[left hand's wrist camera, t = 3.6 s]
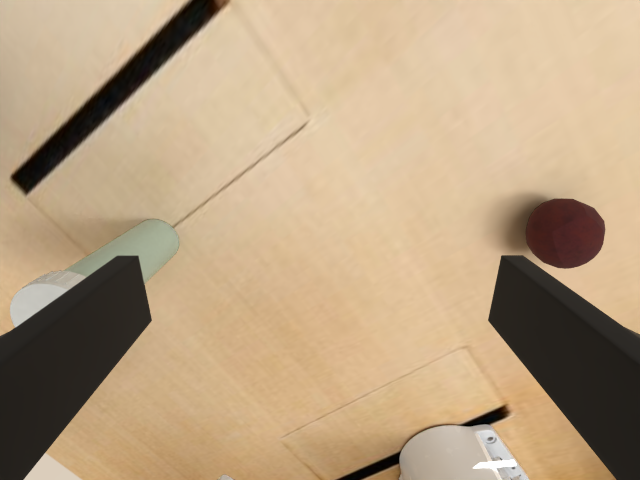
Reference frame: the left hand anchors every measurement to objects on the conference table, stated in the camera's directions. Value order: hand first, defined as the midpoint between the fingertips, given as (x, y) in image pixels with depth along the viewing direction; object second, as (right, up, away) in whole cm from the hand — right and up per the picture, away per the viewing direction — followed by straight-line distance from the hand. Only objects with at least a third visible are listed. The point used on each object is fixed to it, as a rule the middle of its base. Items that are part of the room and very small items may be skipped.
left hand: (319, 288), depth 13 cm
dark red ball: (+27, +4, +28) cm, 39 cm away
